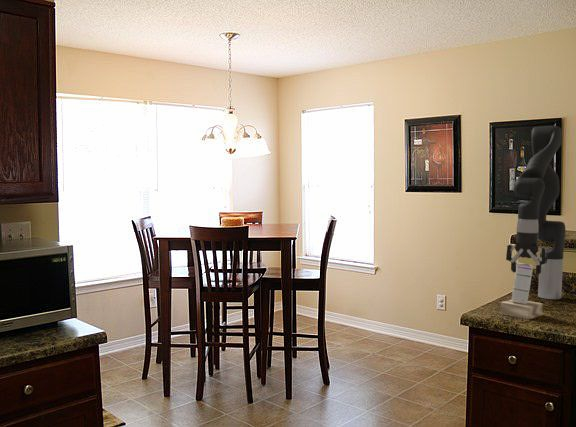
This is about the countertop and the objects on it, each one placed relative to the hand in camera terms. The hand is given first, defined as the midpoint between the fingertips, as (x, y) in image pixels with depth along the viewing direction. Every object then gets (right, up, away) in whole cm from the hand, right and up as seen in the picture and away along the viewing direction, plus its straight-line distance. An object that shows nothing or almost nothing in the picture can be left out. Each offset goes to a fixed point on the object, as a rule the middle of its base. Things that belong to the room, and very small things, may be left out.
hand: (525, 273), depth 220 cm
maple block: (-1, -16, +1) cm, 16 cm away
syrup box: (-2, -11, +2) cm, 11 cm away
